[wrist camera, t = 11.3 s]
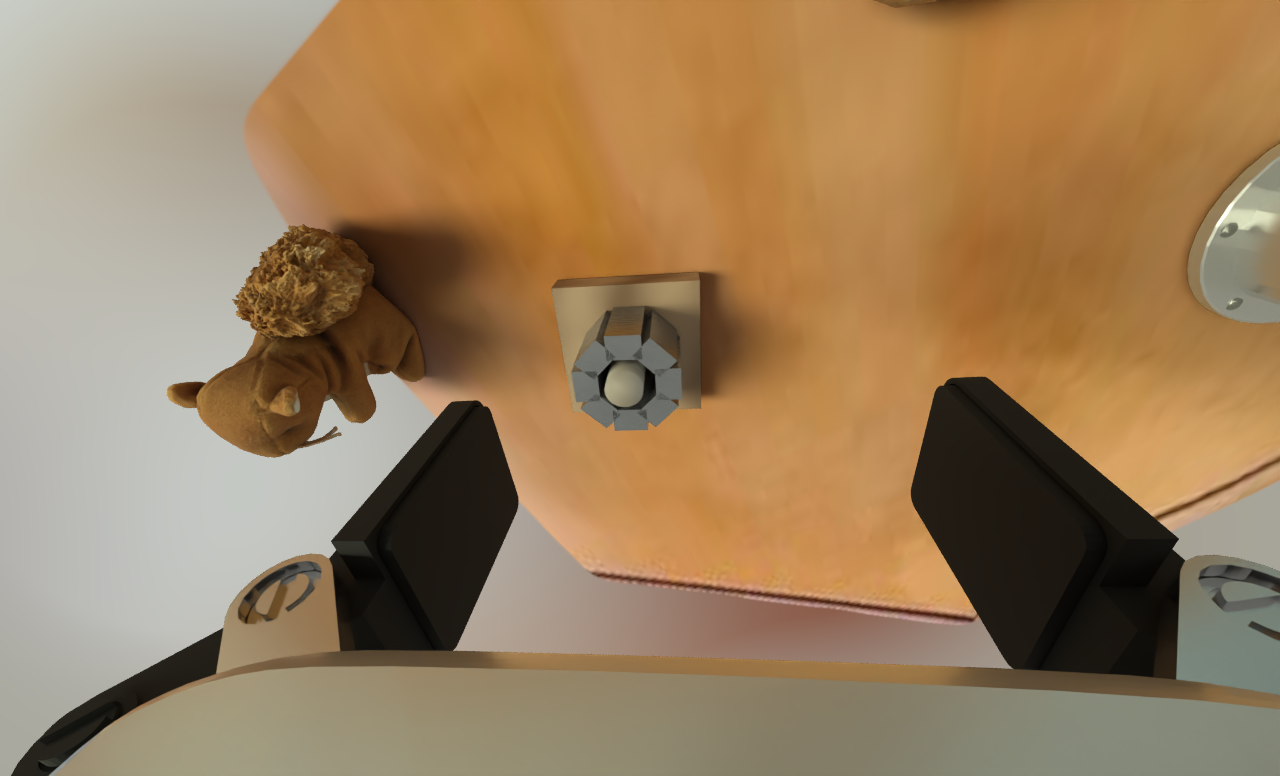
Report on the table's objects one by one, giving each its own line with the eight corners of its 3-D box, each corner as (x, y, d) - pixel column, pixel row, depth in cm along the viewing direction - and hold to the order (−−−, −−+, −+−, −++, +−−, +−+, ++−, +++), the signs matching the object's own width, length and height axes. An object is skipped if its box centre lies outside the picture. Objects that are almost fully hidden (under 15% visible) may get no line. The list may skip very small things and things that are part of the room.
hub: (678, 304, 31) (680, 333, 26) (681, 390, 34) (682, 429, 30) (580, 308, 31) (565, 338, 27) (592, 393, 35) (581, 431, 30)
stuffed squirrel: (308, 370, 38) (151, 476, 26) (273, 191, 31) (37, 229, 19) (428, 394, 38) (324, 509, 27) (421, 223, 31) (275, 279, 20)
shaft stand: (698, 271, 31) (705, 309, 25) (699, 394, 36) (705, 453, 30) (557, 280, 32) (529, 318, 26) (577, 399, 37) (557, 456, 31)
